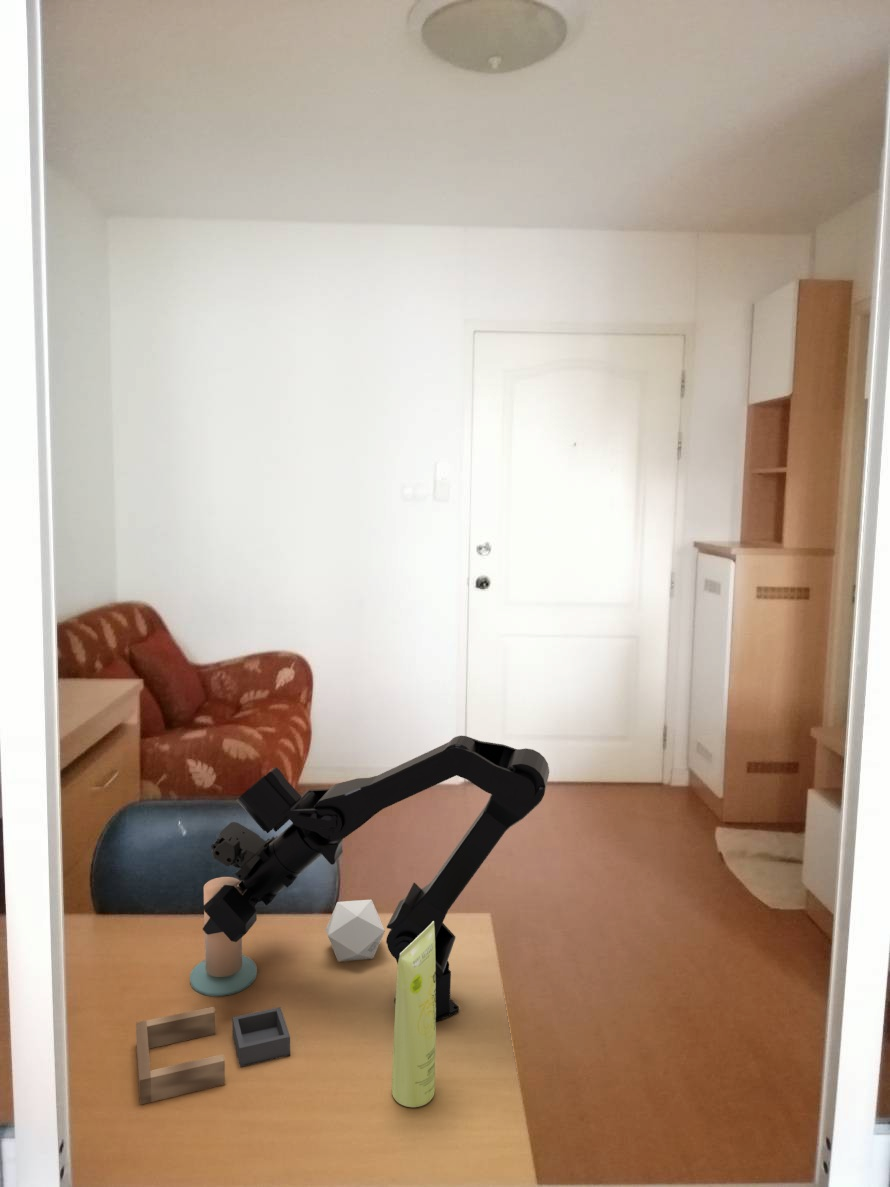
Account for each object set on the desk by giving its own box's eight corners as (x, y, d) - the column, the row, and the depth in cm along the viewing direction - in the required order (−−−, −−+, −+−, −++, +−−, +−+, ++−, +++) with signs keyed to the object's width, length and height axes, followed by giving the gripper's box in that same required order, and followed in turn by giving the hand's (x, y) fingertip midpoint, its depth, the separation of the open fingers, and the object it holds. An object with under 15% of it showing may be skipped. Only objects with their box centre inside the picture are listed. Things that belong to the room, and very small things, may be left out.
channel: (213, 1028, 106) (213, 1006, 105) (224, 1084, 96) (224, 1060, 96) (136, 1044, 102) (136, 1022, 102) (140, 1104, 93) (139, 1080, 92)
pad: (267, 982, 115) (267, 978, 115) (203, 1004, 110) (202, 1000, 110) (242, 951, 123) (242, 947, 123) (181, 970, 118) (181, 966, 117)
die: (366, 982, 117) (400, 918, 120) (313, 952, 117) (348, 888, 119) (361, 969, 125) (392, 909, 128) (311, 941, 124) (344, 881, 127)
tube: (440, 1109, 93) (445, 947, 90) (395, 1116, 92) (399, 952, 89) (429, 1074, 99) (434, 920, 96) (387, 1080, 98) (390, 924, 95)
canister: (238, 977, 114) (237, 894, 112) (201, 977, 114) (199, 894, 112) (245, 956, 119) (244, 876, 117) (210, 956, 119) (208, 876, 117)
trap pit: (280, 1024, 107) (280, 1006, 106) (290, 1055, 101) (290, 1036, 101) (232, 1035, 104) (232, 1017, 104) (239, 1067, 99) (239, 1048, 99)
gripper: (276, 785, 121) (206, 848, 125) (217, 839, 103) (138, 912, 107) (327, 842, 121) (256, 904, 125) (278, 906, 103) (196, 977, 106)
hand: (214, 921), depth 116 cm, fingers closed on canister, 5 cm apart
